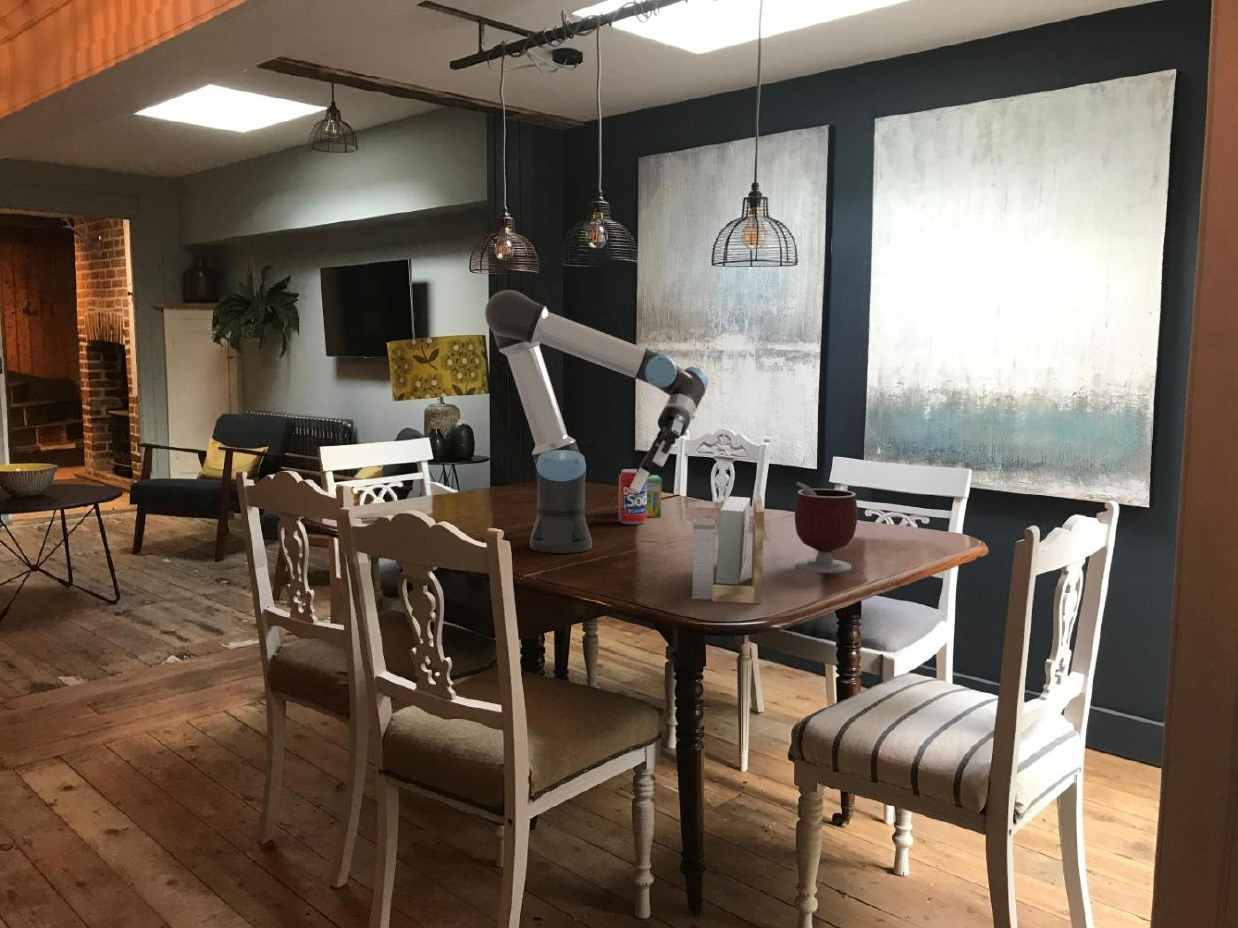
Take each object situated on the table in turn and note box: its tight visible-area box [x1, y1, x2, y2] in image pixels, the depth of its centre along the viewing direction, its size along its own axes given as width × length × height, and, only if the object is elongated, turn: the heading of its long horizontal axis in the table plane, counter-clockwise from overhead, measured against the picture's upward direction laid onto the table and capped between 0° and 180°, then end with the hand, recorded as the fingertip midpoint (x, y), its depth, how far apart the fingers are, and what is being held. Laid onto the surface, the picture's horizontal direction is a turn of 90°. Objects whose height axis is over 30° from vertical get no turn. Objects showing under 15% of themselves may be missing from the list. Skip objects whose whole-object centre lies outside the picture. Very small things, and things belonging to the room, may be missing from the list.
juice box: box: [646, 474, 663, 518], centre depth 294 cm, size 9×9×15 cm
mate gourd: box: [794, 481, 858, 574], centre depth 226 cm, size 16×14×20 cm
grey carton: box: [691, 517, 716, 601], centre depth 200 cm, size 4×8×15 cm, turn 174°
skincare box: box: [715, 496, 751, 586], centre depth 219 cm, size 21×6×16 cm, turn 168°
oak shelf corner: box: [712, 494, 765, 604], centre depth 204 cm, size 10×22×18 cm, turn 174°
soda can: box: [618, 468, 648, 526], centre depth 281 cm, size 8×8×15 cm
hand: (645, 477), depth 237 cm, fingers open, 13 cm apart
